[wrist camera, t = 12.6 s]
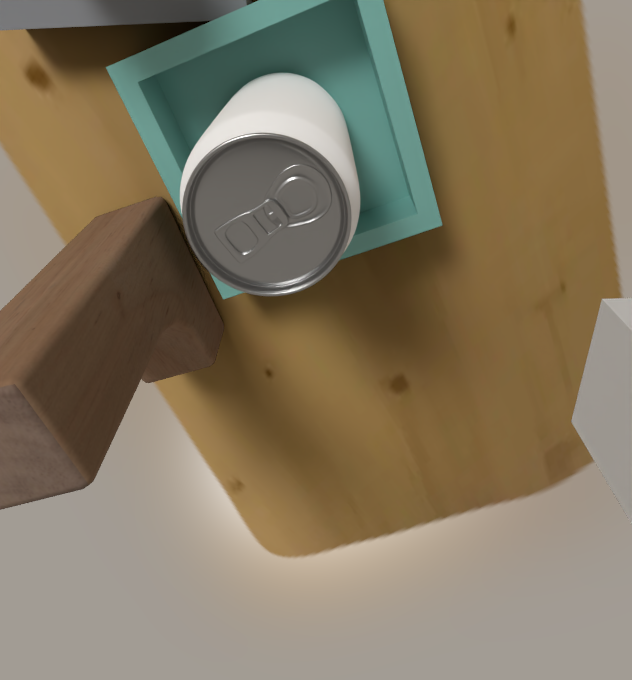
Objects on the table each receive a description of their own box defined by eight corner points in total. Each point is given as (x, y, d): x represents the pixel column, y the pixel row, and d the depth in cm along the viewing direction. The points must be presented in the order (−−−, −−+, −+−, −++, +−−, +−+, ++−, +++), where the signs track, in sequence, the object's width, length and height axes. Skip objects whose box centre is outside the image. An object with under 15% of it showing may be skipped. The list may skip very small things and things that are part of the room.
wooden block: (227, 327, 36) (157, 577, 20) (162, 345, 36) (47, 601, 21) (164, 192, 31) (13, 381, 16) (91, 216, 32) (-119, 419, 17)
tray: (130, 59, 28) (105, 67, 25) (363, -43, 26) (370, -49, 22) (232, 270, 34) (223, 299, 30) (429, 201, 31) (442, 225, 28)
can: (371, 155, 29) (401, 243, 19) (273, 224, 31) (251, 338, 21) (297, 40, 27) (286, 71, 16) (194, 124, 29) (126, 198, 18)
